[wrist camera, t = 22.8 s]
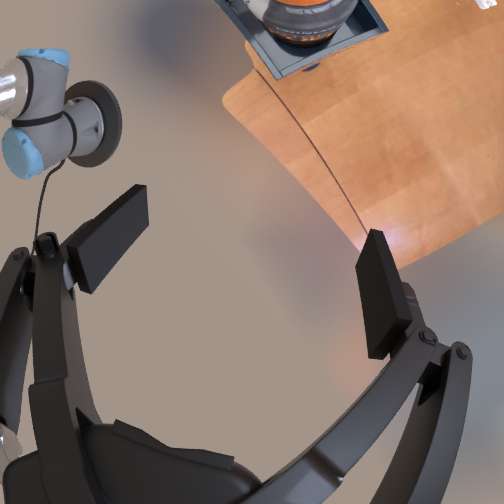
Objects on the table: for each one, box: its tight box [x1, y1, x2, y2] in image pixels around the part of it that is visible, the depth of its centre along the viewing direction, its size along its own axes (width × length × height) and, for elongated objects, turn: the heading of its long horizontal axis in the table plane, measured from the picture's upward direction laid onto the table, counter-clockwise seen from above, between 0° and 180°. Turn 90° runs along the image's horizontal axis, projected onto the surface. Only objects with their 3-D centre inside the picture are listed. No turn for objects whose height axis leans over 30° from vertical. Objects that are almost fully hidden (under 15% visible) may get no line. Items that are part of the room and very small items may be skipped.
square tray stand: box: [215, 0, 389, 81], centre depth 26 cm, size 8×8×36 cm
